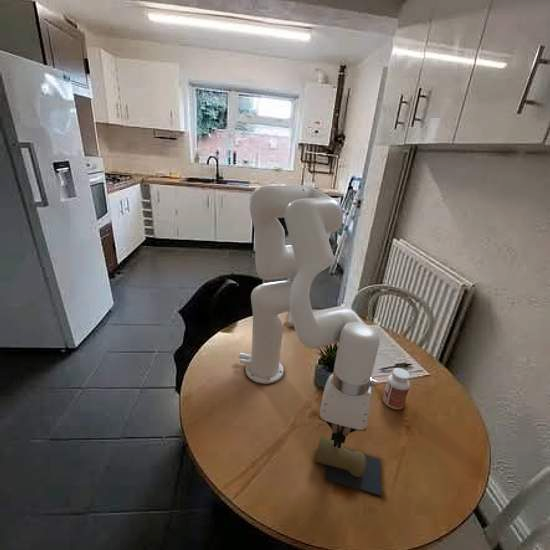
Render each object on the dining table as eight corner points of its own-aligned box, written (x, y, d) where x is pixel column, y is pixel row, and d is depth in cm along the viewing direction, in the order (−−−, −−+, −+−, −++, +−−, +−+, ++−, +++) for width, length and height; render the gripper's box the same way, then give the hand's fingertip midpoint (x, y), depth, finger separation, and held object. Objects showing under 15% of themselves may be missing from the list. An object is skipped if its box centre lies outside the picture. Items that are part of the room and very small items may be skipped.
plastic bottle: (284, 328, 128) (288, 284, 121) (286, 319, 134) (290, 277, 127) (299, 330, 127) (305, 286, 120) (301, 322, 134) (306, 279, 126)
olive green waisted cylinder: (323, 429, 75) (369, 447, 72) (320, 443, 78) (364, 461, 75) (316, 452, 70) (365, 473, 67) (313, 466, 73) (360, 487, 70)
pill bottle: (408, 405, 93) (417, 376, 89) (395, 413, 90) (404, 383, 86) (390, 392, 98) (398, 363, 94) (378, 399, 95) (385, 370, 91)
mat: (326, 479, 70) (326, 478, 70) (330, 446, 78) (330, 445, 78) (381, 496, 68) (381, 495, 68) (379, 460, 76) (379, 459, 76)
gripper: (386, 376, 66) (370, 438, 73) (317, 360, 69) (308, 421, 76) (389, 401, 60) (370, 466, 67) (312, 382, 63) (302, 447, 70)
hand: (337, 442), depth 71 cm, fingers closed
